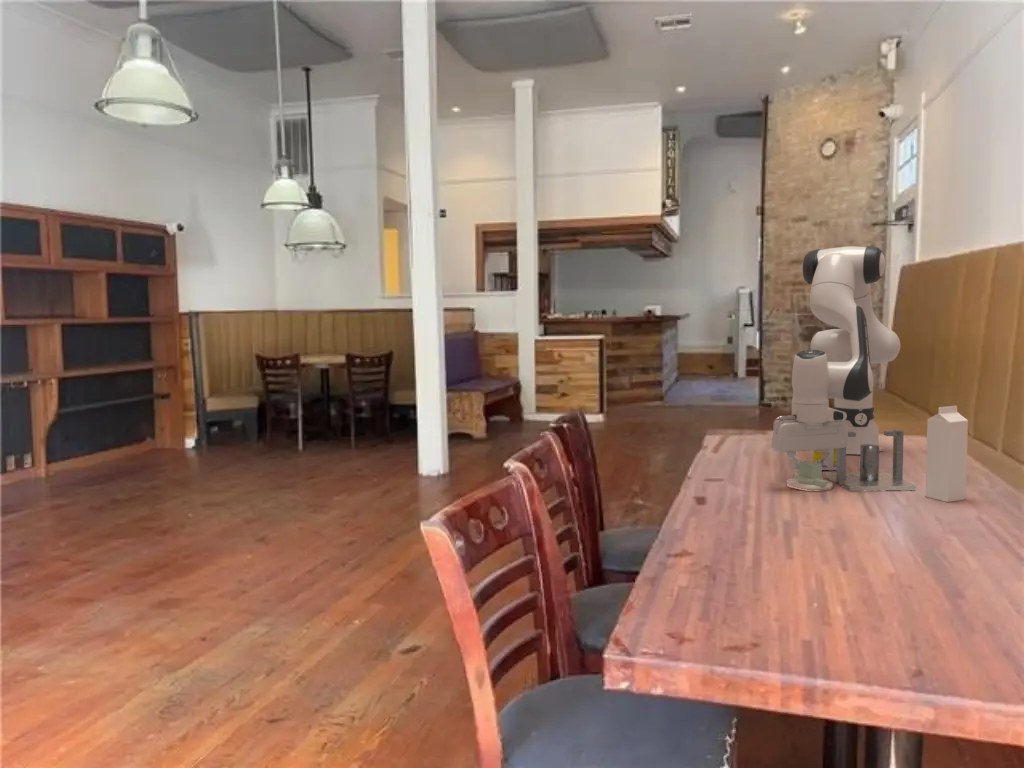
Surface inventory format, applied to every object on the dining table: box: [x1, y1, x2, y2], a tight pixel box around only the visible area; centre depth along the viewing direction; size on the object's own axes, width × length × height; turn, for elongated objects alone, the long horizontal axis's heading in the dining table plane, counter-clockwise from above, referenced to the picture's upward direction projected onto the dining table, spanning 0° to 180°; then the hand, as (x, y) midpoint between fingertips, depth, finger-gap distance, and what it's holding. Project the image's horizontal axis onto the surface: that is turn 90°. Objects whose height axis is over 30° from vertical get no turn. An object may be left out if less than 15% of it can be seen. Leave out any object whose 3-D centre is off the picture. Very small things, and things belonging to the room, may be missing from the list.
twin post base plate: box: [825, 429, 917, 492], centre depth 193 cm, size 16×16×14 cm
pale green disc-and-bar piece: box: [793, 460, 827, 486], centre depth 192 cm, size 6×11×5 cm, turn 14°
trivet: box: [786, 477, 834, 492], centre depth 193 cm, size 11×11×1 cm
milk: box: [925, 405, 969, 503], centre depth 177 cm, size 6×6×22 cm
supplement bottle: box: [813, 448, 837, 472], centre depth 212 cm, size 7×7×13 cm
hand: (809, 467), depth 192 cm, fingers open, 7 cm apart
